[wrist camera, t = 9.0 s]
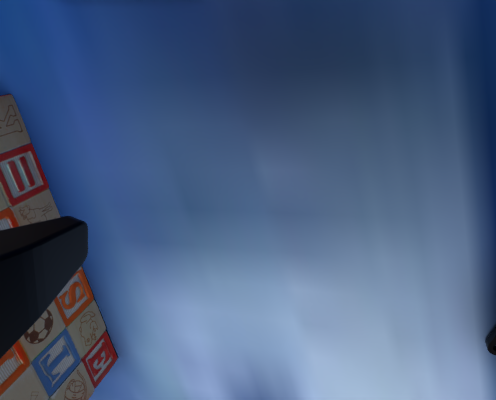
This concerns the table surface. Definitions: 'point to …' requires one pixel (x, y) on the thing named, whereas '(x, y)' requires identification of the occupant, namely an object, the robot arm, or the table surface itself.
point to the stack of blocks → (65, 304)
